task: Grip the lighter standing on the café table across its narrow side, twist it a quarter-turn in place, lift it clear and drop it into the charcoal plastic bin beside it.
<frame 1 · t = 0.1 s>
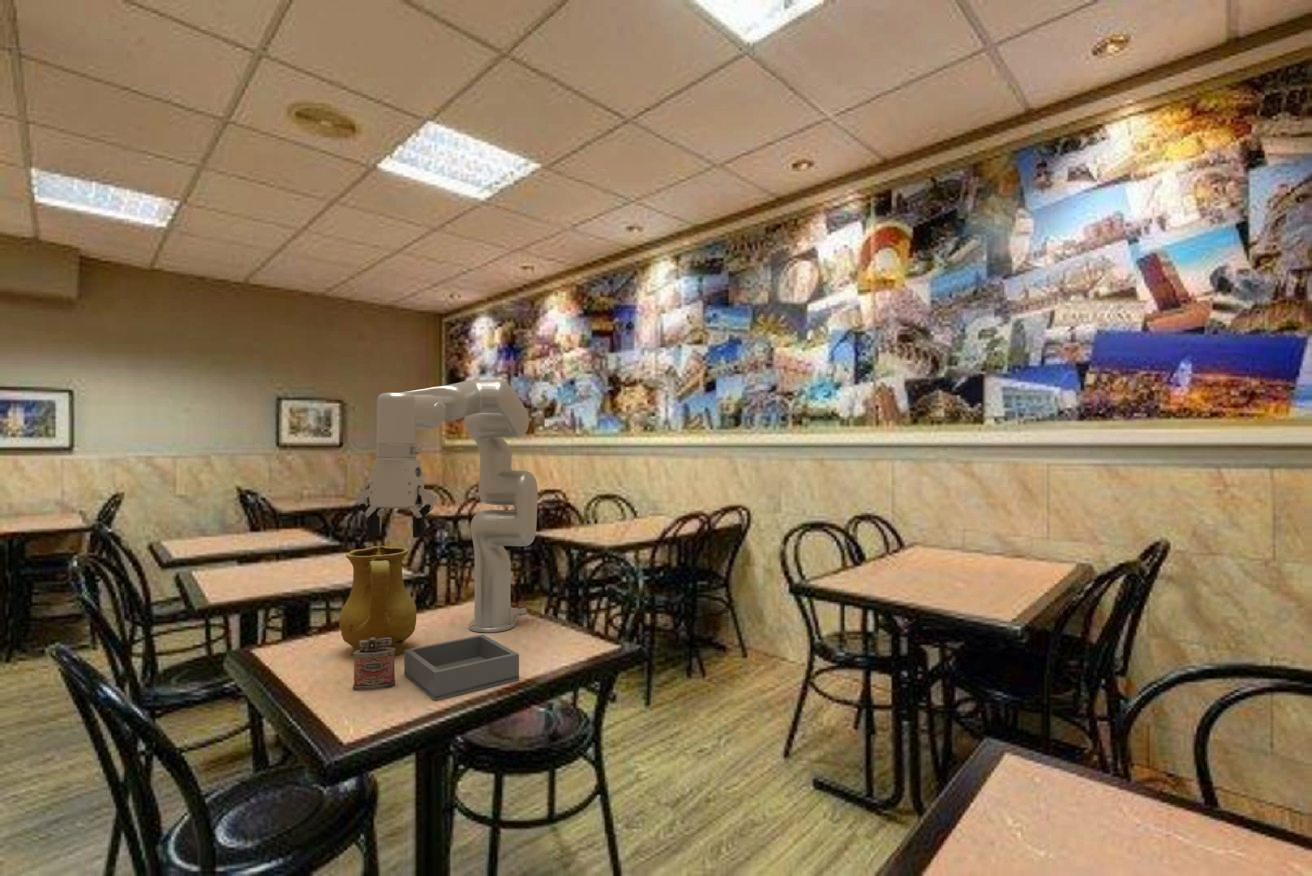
hand: (396, 536, 135), 31 cm above the table, tool pointing down, fingers open, 9 cm apart
bin: (461, 677, 141), on the table
pitcher: (376, 653, 158), on the table
lighter: (374, 688, 135), on the table
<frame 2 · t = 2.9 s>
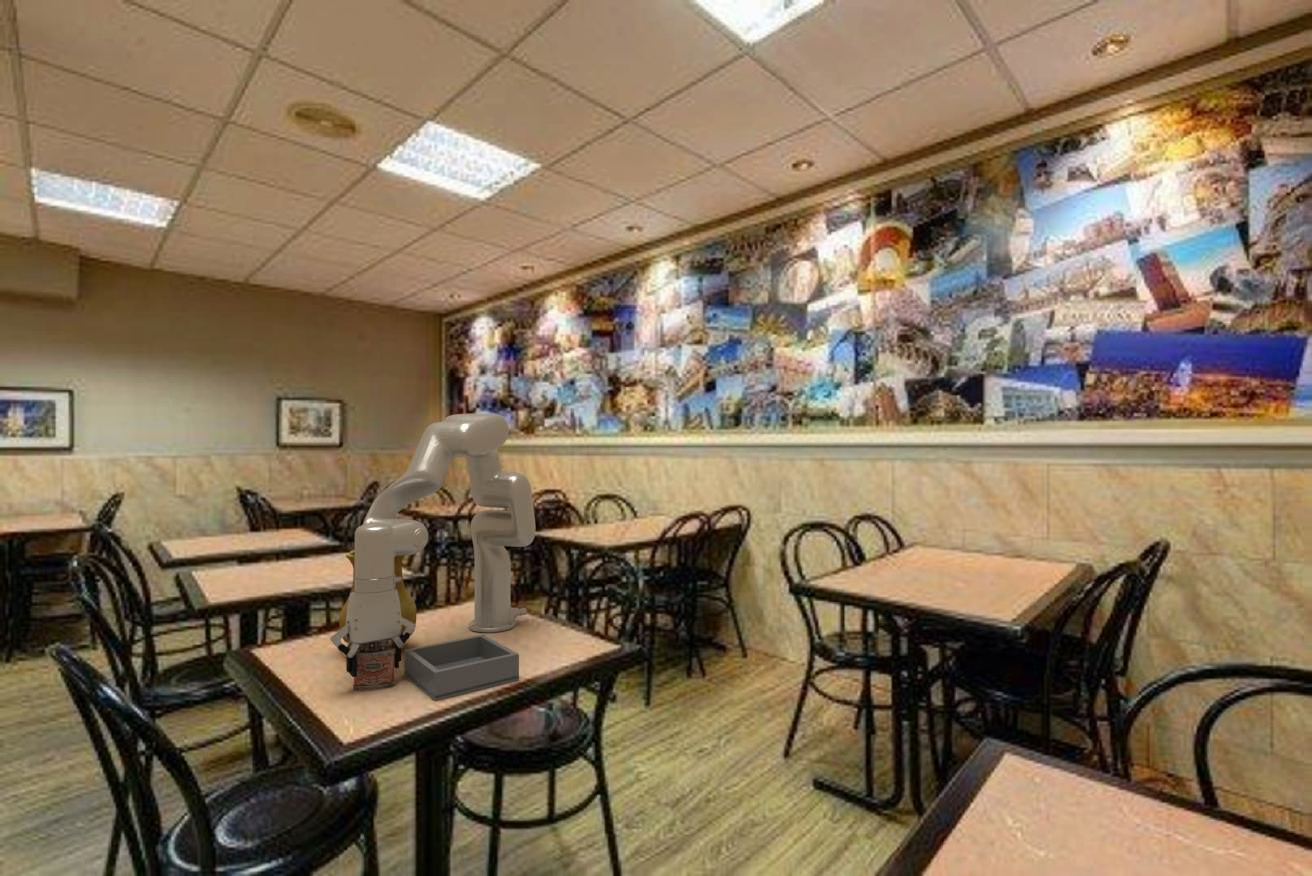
hand: (374, 670, 135), 3 cm above the table, tool pointing down, fingers closed on lighter, 7 cm apart
lighter: (374, 688, 135), on the table, touching gripper
everything else where it was.
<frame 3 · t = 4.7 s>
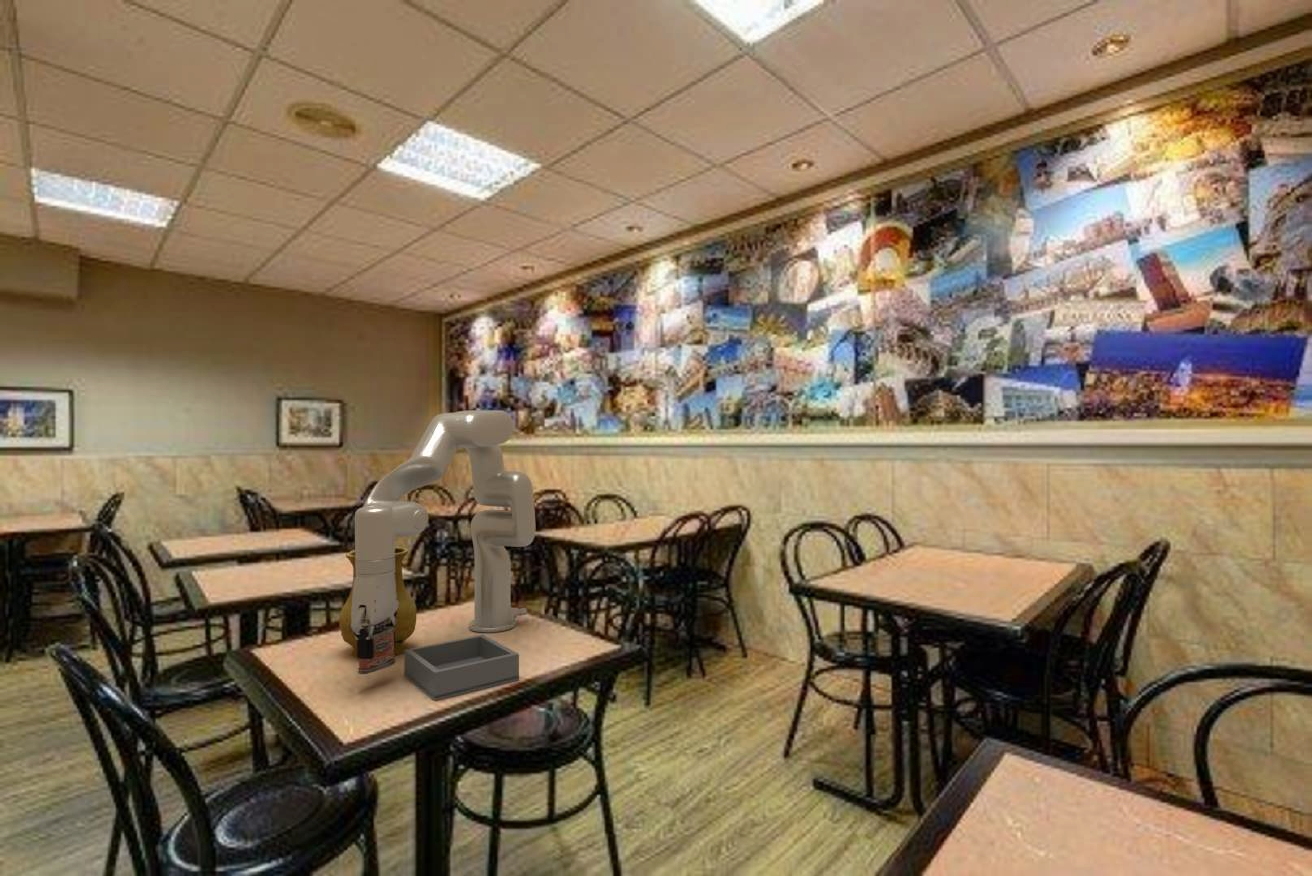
hand: (376, 650, 136), 7 cm above the table, tool pointing down, fingers closed on lighter, 7 cm apart
lighter: (376, 668, 136), point 4 cm above the table, touching gripper
everything else where it was.
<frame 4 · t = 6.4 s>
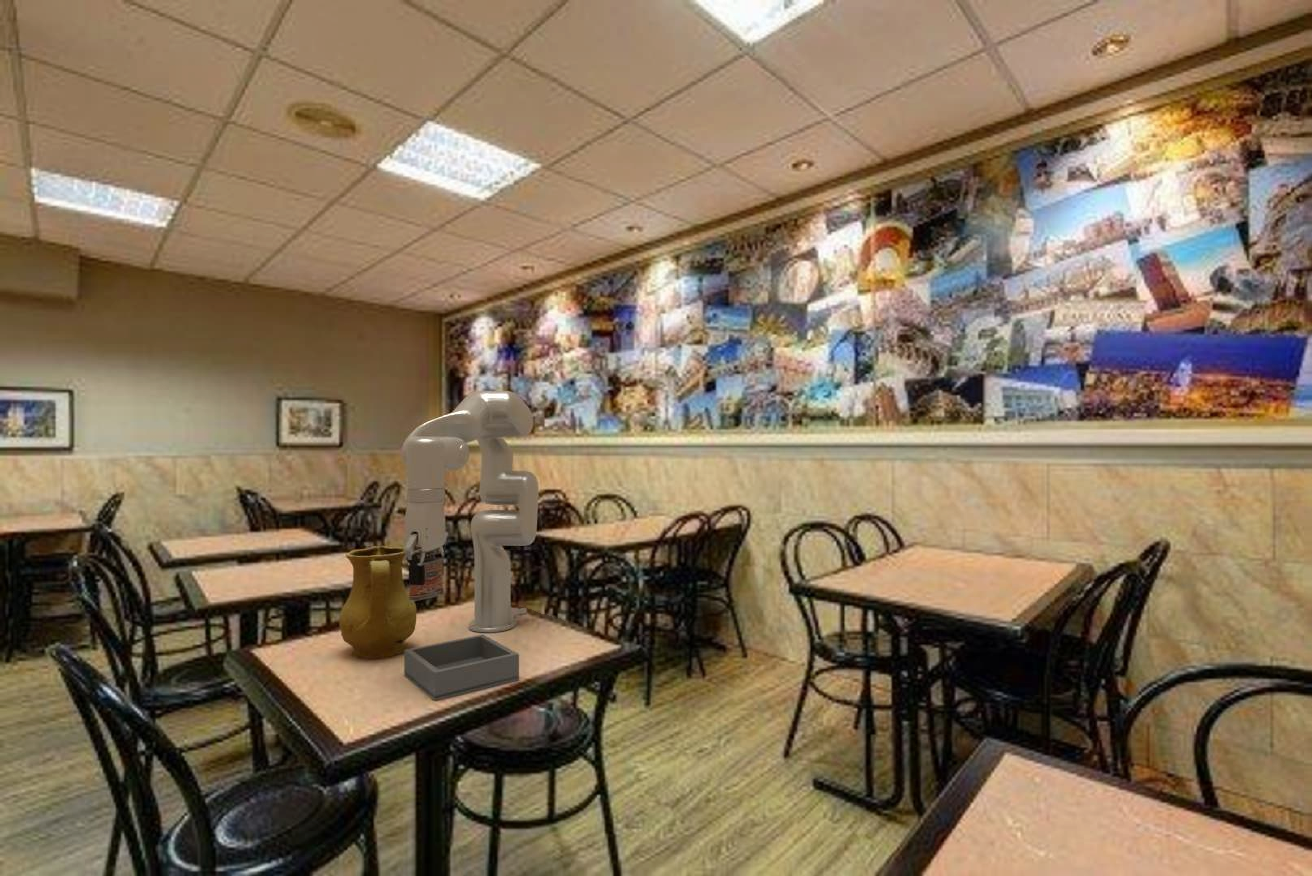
hand: (426, 579, 139), 21 cm above the table, tool pointing down, fingers closed on lighter, 7 cm apart
lighter: (426, 597, 139), point 18 cm above the table, touching gripper
everything else where it was.
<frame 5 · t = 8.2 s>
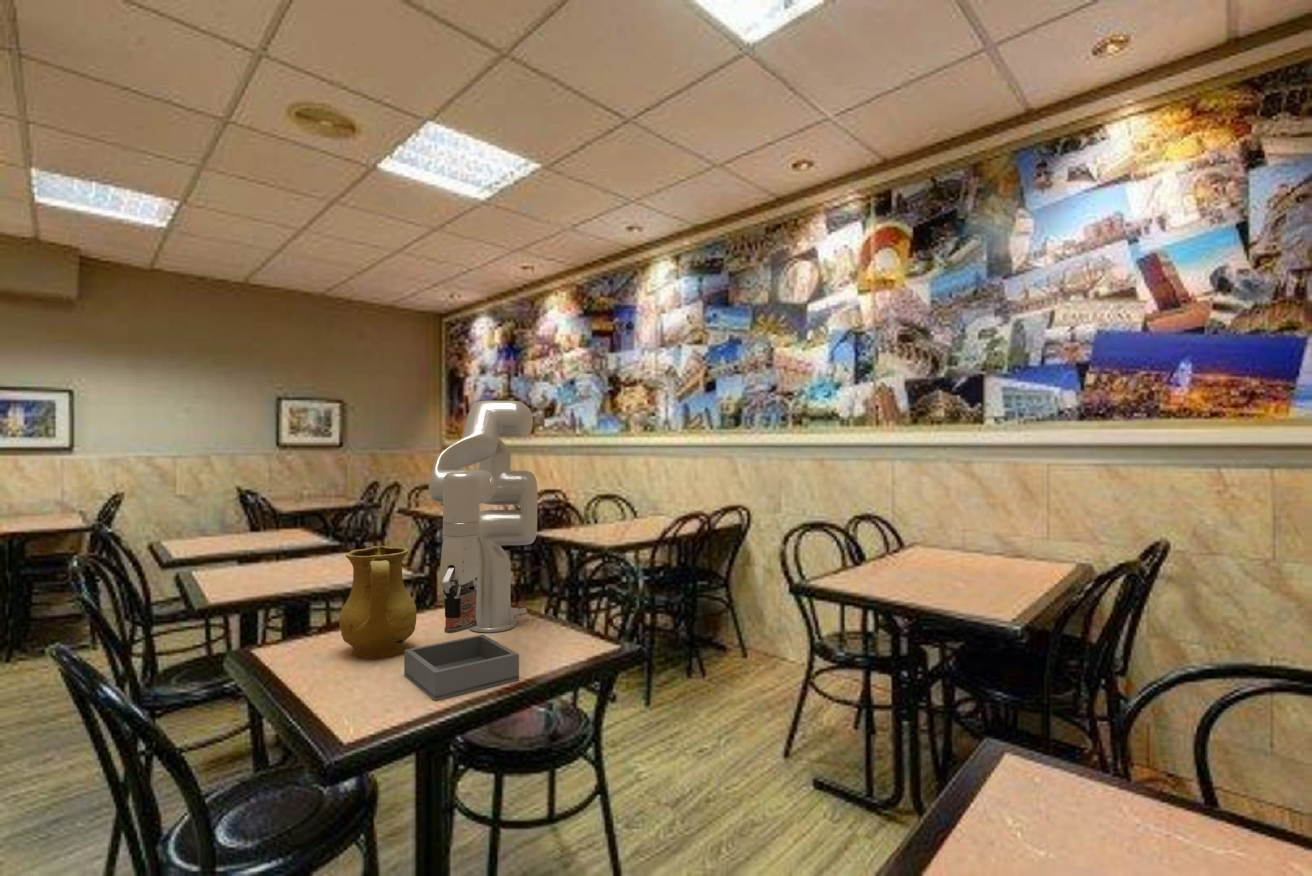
hand: (461, 612, 141), 14 cm above the table, tool pointing down, fingers closed on lighter, 7 cm apart
lighter: (460, 629, 141), point 10 cm above the table, touching gripper
everything else where it was.
when the fingers open (6 cm above the table, at t = 9.9 s): lighter drops 2 cm, resting on bin.
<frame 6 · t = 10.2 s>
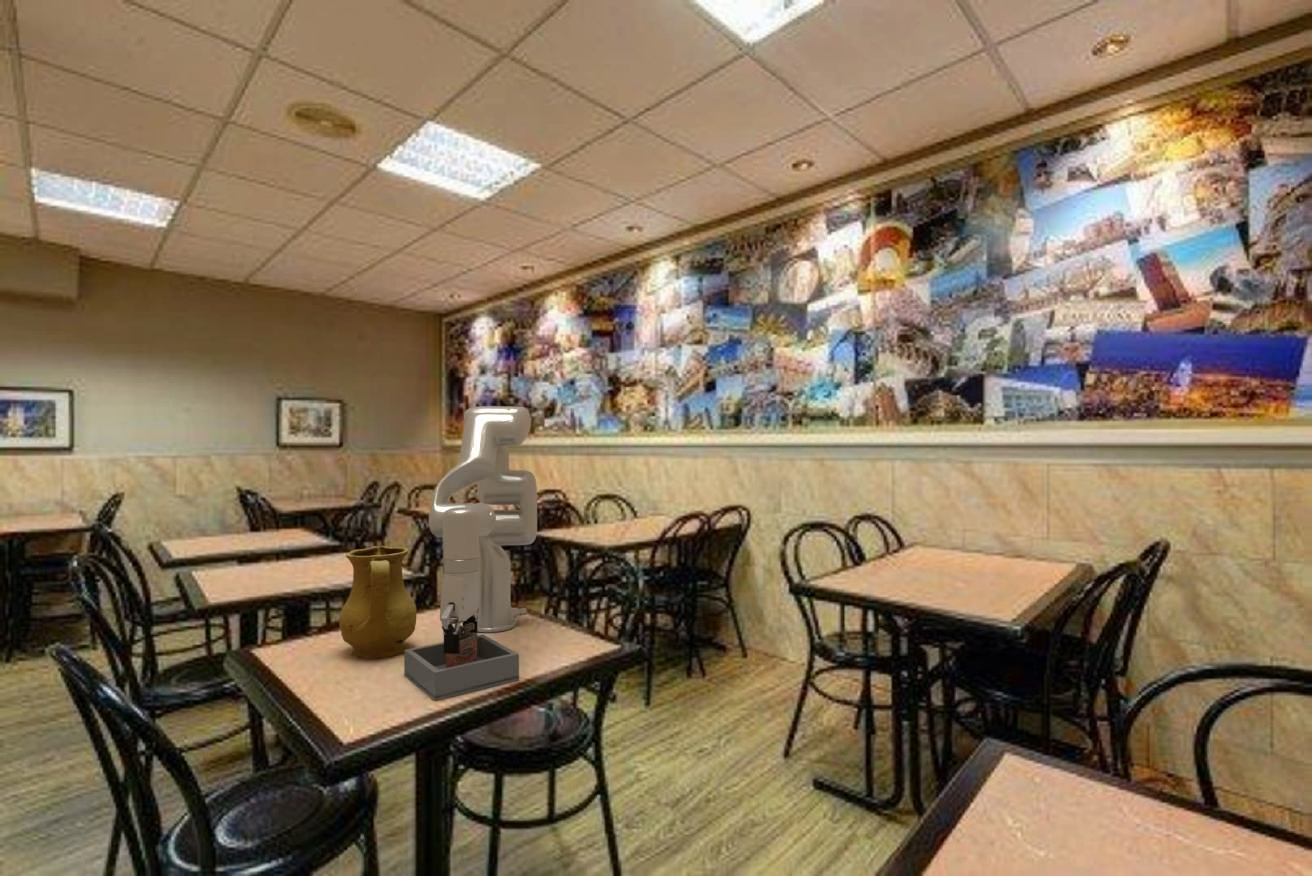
hand: (461, 646, 141), 7 cm above the table, tool pointing down, fingers open, 9 cm apart
lighter: (461, 673, 141), point 1 cm above the table, touching bin
everything else where it was.
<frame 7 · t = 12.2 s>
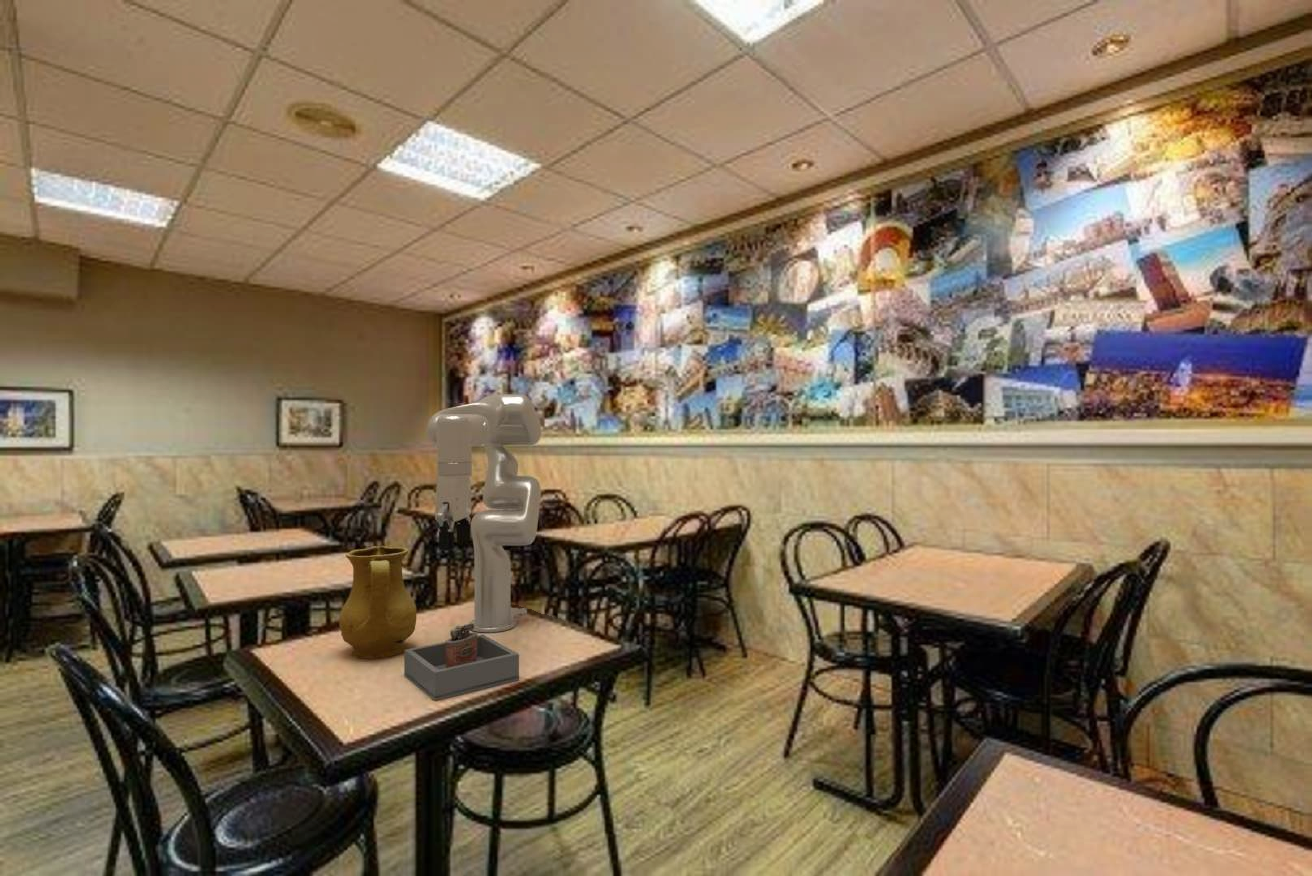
hand: (455, 545, 150), 27 cm above the table, tool pointing down, fingers open, 9 cm apart
nothing on the table moved.
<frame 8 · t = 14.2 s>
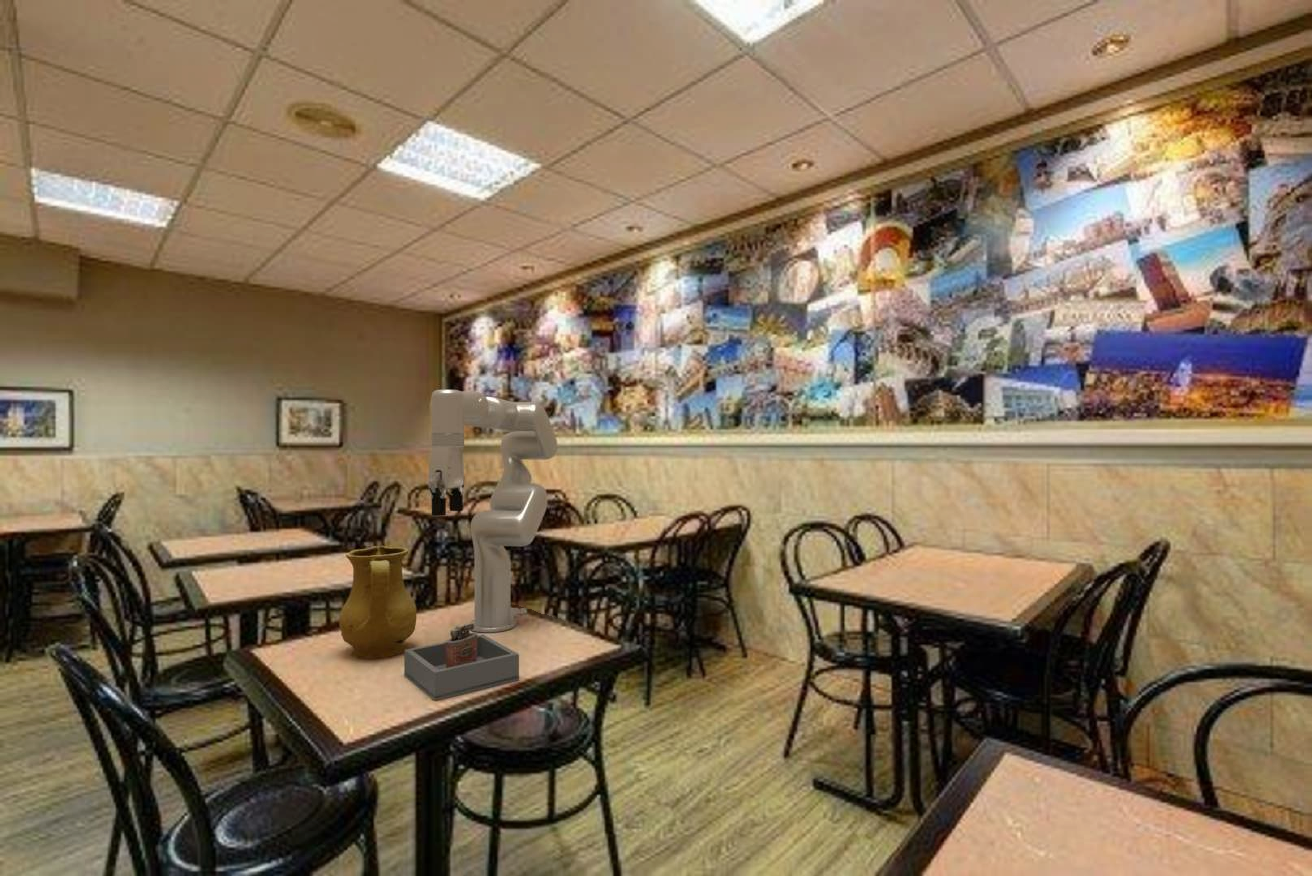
hand: (447, 513, 157), 33 cm above the table, tool pointing down, fingers open, 9 cm apart
nothing on the table moved.
at the end: lighter inside the target area on the bin (0.4 cm from its centre), point 0.8 cm above the bin's base; the gripper is holding nothing; lighter moved 17.2 cm from its start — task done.
